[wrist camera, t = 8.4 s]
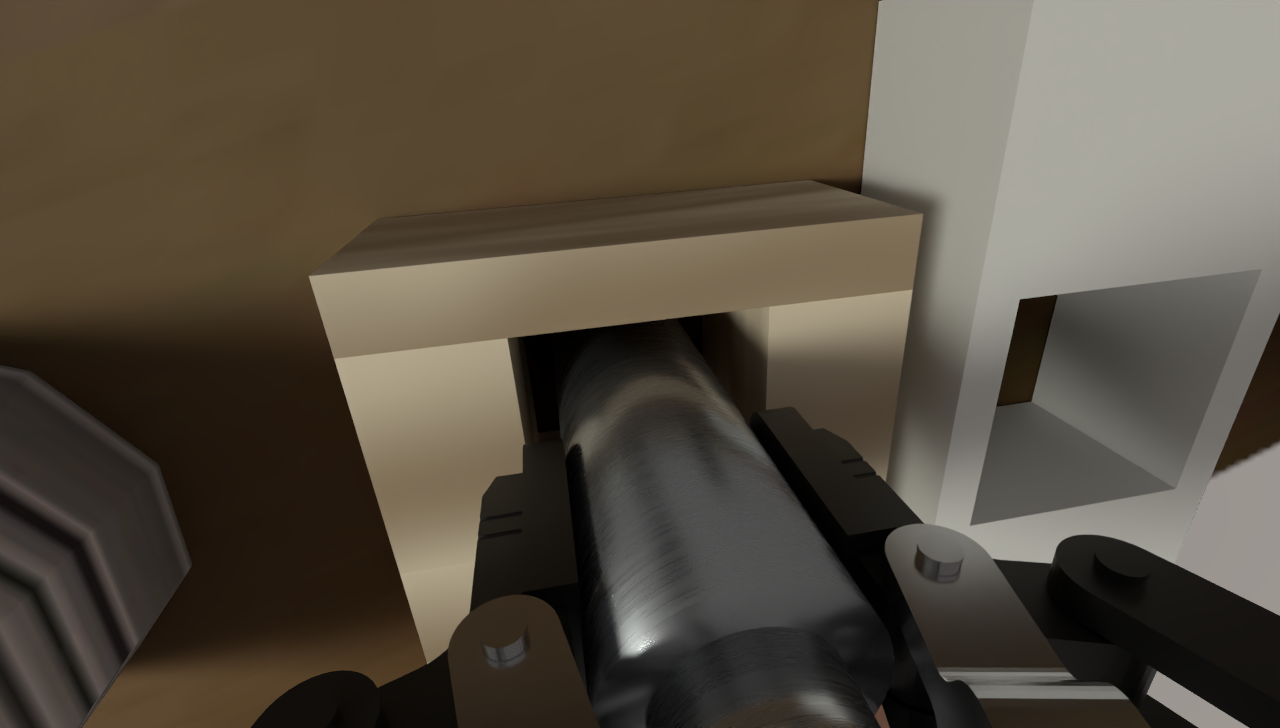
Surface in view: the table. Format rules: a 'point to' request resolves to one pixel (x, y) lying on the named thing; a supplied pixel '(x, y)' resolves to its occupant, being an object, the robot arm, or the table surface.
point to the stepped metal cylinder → (700, 553)
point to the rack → (1077, 254)
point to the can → (74, 554)
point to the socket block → (597, 297)
